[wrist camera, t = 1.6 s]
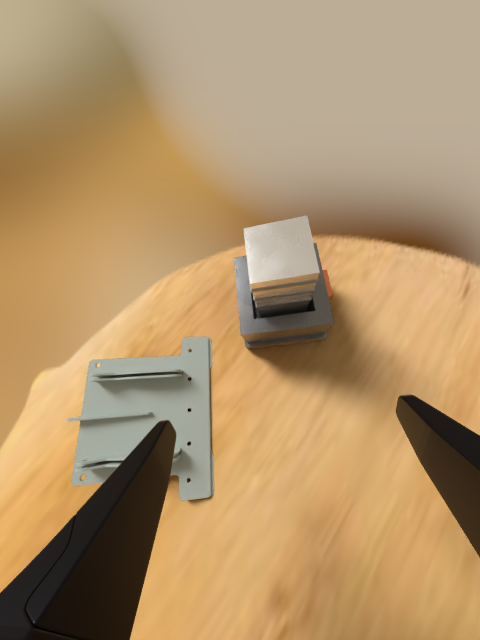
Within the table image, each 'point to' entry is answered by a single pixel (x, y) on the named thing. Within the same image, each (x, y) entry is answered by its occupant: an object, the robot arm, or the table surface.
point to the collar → (286, 326)
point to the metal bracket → (148, 415)
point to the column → (281, 266)
